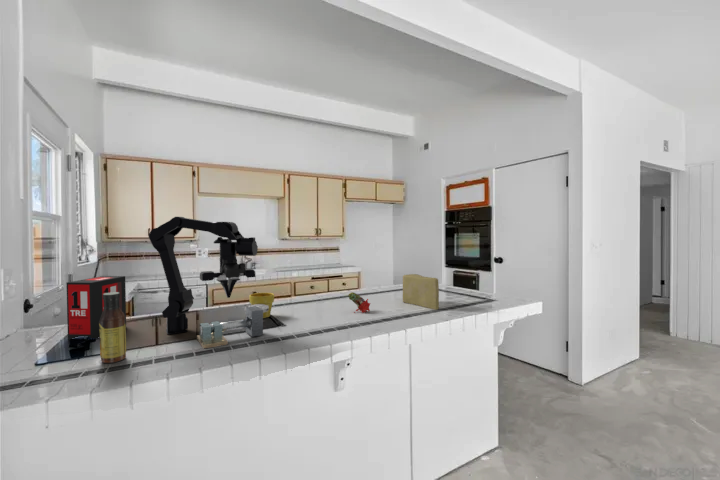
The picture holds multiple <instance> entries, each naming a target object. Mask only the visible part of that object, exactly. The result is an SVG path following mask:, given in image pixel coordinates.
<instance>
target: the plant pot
mask: <svg viewBox="0 0 720 480" xmlns="http://www.w3.org/2000/svg"><path fill="white" fill-rule="evenodd" d="M273 303H275V294H274V293H273V292H256V293H255V292H254V293H252V294H249V304H250V305H255V304H264V305H267V306H269V310H268V311H267V312H264V313H263V319H266V318H269V317H271V311H272V307H273Z"/></svg>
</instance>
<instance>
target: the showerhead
mask: <svg viewBox="0 0 720 480" xmlns="http://www.w3.org/2000/svg"><path fill="white" fill-rule="evenodd" d="M244 306H245V307H253V306H257V307H259V308H260V309H262V310H263V313H264V312H267V311H268V310H269V306H267V305H264V304H255V305H251V304H249V305H248V304H244ZM244 313H246V310H245V309H244Z"/></svg>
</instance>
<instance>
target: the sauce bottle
mask: <svg viewBox="0 0 720 480" xmlns="http://www.w3.org/2000/svg"><path fill="white" fill-rule="evenodd" d="M119 298H120V293H119V292H110V293H104V294H103V300H104V310H103V312H102V315H101V318H100V321H99V332H100V338H99V353H100V354H99V355H100V360H101V362H102V363H103V364H104V363H105V364H111V363H112V364H113V363H114V364H115V363H117V362H121V361H123V360H125V358H126V357H127V354H126V353H127V333H126V329H127V327H125V315H124V313H123V312H122V311H121V309H120V308H119V307H120V305H119Z"/></svg>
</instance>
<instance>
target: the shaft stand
mask: <svg viewBox="0 0 720 480" xmlns="http://www.w3.org/2000/svg"><path fill="white" fill-rule="evenodd" d="M248 327H251V322H250V319H246V318H245V319H237V320H232V321H231V320H230V321H224V322H220V321H219V320H217V321H211V322H210V324H209V322H202V323H199V335H196V340H197V341H198V343H199V344H200V346H201V347H202V349H203V350H205V349H209V348H215V347H222V346H227V345H228V342H229V340H228V339H226V337H225V336H224V335H223V332H227V331H228V332H229V331H234V330H242V329H246V328H248ZM226 344H227V345H226ZM221 345H222V346H221ZM204 348H205V349H204Z"/></svg>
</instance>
